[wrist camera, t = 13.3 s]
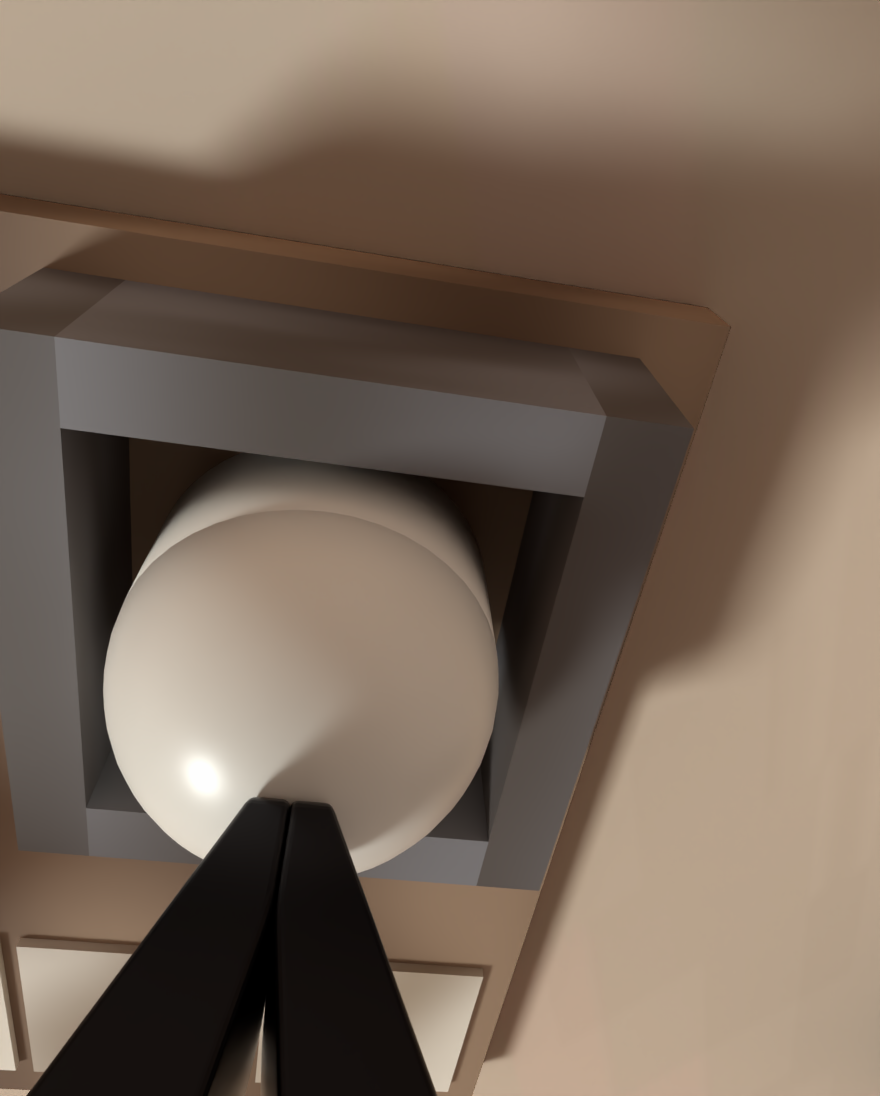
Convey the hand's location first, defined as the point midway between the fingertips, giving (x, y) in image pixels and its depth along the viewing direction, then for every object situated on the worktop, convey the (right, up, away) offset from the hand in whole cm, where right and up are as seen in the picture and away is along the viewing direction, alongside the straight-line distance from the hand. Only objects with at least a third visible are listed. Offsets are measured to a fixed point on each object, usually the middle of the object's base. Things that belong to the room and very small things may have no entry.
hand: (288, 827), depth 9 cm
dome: (0, +2, +4) cm, 5 cm away
